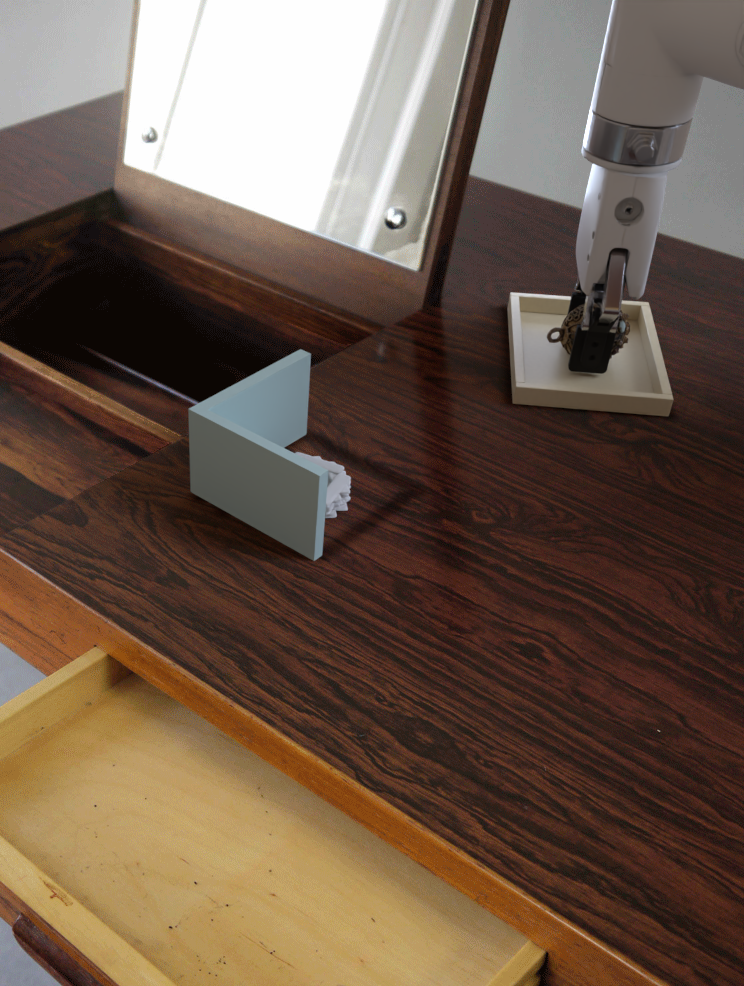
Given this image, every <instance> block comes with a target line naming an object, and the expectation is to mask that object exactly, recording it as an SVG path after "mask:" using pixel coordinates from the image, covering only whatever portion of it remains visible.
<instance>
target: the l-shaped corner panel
mask: <svg viewBox="0 0 744 986" xmlns="http://www.w3.org/2000/svg"><path fill="white" fill-rule="evenodd" d="M311 359H312V353H311V352H309V351H305V350H304V349H301V348H299V349H298V350H296V351H294V352H291V354H289V355H286V356H284V357H283V358H281V359H278V360H277V361H275V362H273V363H272V364H270V365H268V366H266V367H264V368H262V369H260V370H259V371H256V372H255V373H253V374H251V375H249V376H247V377H245V378H243V379H242V380H240V381H238V382H235V383H234V384H232V385H231V386H228V387H226V388H225V389H223V390H221V391H219V392H217V393H216V394H214V395H212V396H209V397H208V398H206V399H203V400H202V401H200V402H199V403H197V404H194V405H193V406H190V407H189V408H188V409H187V411H188V413H187V414H188V441H189V443H188V448H189V450H188V451H189V452H188V453H189V483H190V486H189V488H190V493H191V494H193V495H195V496H197V497H199V498H201V499H202V500H204V501H206V502H208V503H209V504H212V505H213V506H215V507H217V508H218V509H220V510H222V511H224V512H226V513H227V514H229V515H231V516H232V517H234V518H236V519H237V520H240V521H242V522H243V523H245V524H247V525H249V526H251V527H252V528H254V529H256V530H258V531H260V532H261V533H263V534H264V535H267V536H268V537H270V538H271V539H273V540H275V541H277V542H279V543H281V544H282V545H284V546H287V547H288V548H289V549H291V550H293V551H294V552H297V553H298V554H300V555H302V556H304V557H306V558H308V559H310V560H311V561H313V562H315V561H317V560H318V559H319V558H321V557H322V556H323V551H324V537H325V536H324V535H325V524H326V519H335V518H337V516H338V514H337V512H345V511H348V510H349V507H348V502H350V501H351V498H352V497H351V496H350V494H351V490H350V489H351V488H352V485H351V484H352V477H351V476H350V475H347V471H346V470H345V466H344V465H341V464H339V463H336V462H335V461H328V460H326V459H322V457H321V456H320V455H313V456H312V455H309V454H306V453H303V452H300V451H295V452H293V451H290V449H287V448H286V447H288V446H289V445H290V446H291V444H293V443H294V442H296V441H298V440H299V439H301V438H303V437H305V436H306V435H307V433H308V417H309V415H308V414H309V398H310V380H311V364H312V363H311V362H312V361H311Z"/></svg>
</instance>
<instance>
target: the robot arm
mask: <svg viewBox="0 0 744 986" xmlns="http://www.w3.org/2000/svg"><path fill="white" fill-rule="evenodd" d="M704 78H706V79H710V80H712V81H715V82H718V83H721V84H724V85H727V86H730V87H732V88H736V89H740V90H744V0H612V2H611V6H610V10H609V16H608V21H607V27H606V30H605V36H604V41H603V46H602V50H601V55H600V62H599V65H598V70H597V74H596V80H595V84H594V89H593V93H592V97H591V103H590V108H589V113H588V117H587V122H586V127H585V131H584V136H583V141H582V147H581V155H582V157H583V158H584V159H586V160H587V161H588V162H589V163H591V169H590V172H589V178H588V182H587V186H586V190H585V195H584V198H583V199H584V200H583V204H582V208H581V214H580V219H579V225H578V229H577V235H576V244H575V260H576V267H577V274H576V280H575V283H574V291H572V292H571V296H570V297H571V300H570V305H569V309H568V314H569V313H570V312H571V311H572V310H574V309H575V308H577V307H578V306H580V305H583V304H585V306H584V311H583V317H582V323H581V325H577V328H576V332H575V337H574V341H573V345H572V350H571V354H570V359H569V363H568V368H569V370H570V371H573V372H586V373H598V374H603V373H605V372H606V371H607V368H608V364H609V360H610V356H611V352H612V348H613V344H614V340H615V336H616V332H617V325H618V320H619V315H620V310H621V304H622V300H623V299H624V294H625V287H626V289H627V293H628V298H632V299H633V301H637V300H638V301H639V299H640V298H642V297H643V296H644V294H645V290H646V286H647V281H648V277H649V272H650V269H651V268H650V267H651V263H652V260H653V259H652V258H653V254H654V250H655V246H656V241H657V240H656V239H657V235H658V231H659V227H660V222H661V217H662V212H663V207H664V202H665V195H666V189H667V179H668V172H669V171H672V170H674V169H675V170H676V169H677V168H679V166H680V165H681V163H682V159H683V155H684V152H685V149H686V146H687V141H688V137H689V133H690V129H691V125H692V123H693V118H694V115H695V111H696V107H697V103H698V101H699V95H700V93H701V89H702V85H703V81H704ZM594 303H601V305H600V307H596V308H595V309H594V311H593V313H592V310H593V304H594ZM568 314H567V315H568Z"/></svg>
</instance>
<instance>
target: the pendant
mask: <svg viewBox="0 0 744 986" xmlns="http://www.w3.org/2000/svg"><path fill="white" fill-rule="evenodd" d="M600 305H601V303H594V304H593V310H592V313H593V311H594V309H595V308H596V307H600ZM584 306H585V304H583V305H580V306H578V307H577V308H575V309H574V310H572V311H571V312H570V313H569V314H568V315H567V316H566V318H565V319H564V321H563V323H562V326H561V328H560V327H555V328H553V329H551V330H550V331H549V332H548V334H547V339H548V341H549V342H550V343H557V342H559V341H560V342H561V344H562V347H563V348H565V350H566V351H567V353H568V354H569V355H570V354H571V350H572V345H573V341H574V337H575V332H576V328H577V325H581V323H582V317H583V311H584ZM628 318H629V315H628V314H625V313H624V314H623V311H622V310H620V315H619V320H618V325H617V332H616V336H615V340H614V344H613V348H612V352H611V356H610V359H611V358H612V355H615V354H617V353H619V348H620V349H621V348H623V344H624V343H628V338H627V337H626V336H625V335H628V334H629V332H630V324H629V323H628V322H626V320H627V319H628ZM555 332H559V336H558V338H556V339H552V338H551V335H552V333H555Z"/></svg>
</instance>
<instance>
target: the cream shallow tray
mask: <svg viewBox="0 0 744 986" xmlns="http://www.w3.org/2000/svg"><path fill="white" fill-rule="evenodd" d="M570 300H571V296H569V295H554V294H553V295H552V294H541V293H527V292H514V291H513V292H512V291H511V292H510V293H509V298H508V302H507V325H508V343H509V362H510V376H511V377H510V379H511V380H510V381H511V394H512V395H511V399H512V401H511V402H512V404H515V405H526V406H527V405H528V406H537V407H550V408H560V409H562V408H564V409H573V410H587V411H598V412H599V411H600V412H610V413H623V414H636V415H647V416H659V417H669V416H670V413H671V410H672V406H673V403H674V396H673V392H672V387H671V383H670V380H669V376H668V373H667V369H666V365H665V360H664V356H663V353H662V349H661V345H660V341H659V337H658V333H657V329H656V326H655V322H654V316H653V314H652V309H651V306H650V302H648V301H639V300H638V301H637V300H623V299H622V304H621V310H622V311H623V314H624V313H625V314H628V315H629V318H628V319H627V320H626V322H628V323H629V324H630V332H629V334H628V335H625V336H626V337H627V338H628V343H624V344H623V348H621V349H620V348H619V353H617V354H615V355H612V358H611V359H610V360H609V364H608V368H607V371H606V372H605V373H603V374H598V373H586V372H573V371H570V370H569V368H568V363H569V359H570V355H569V354H568V353H567V351H566V350H565V348H563V347H562V344H561V342H560V341H559V342H557V343H550V342H549V341H548V339H547V334H548V332H549V331H550V330H551V329H553V328H555V327H560V328H561V326H562V323H563V321H564V319H565V318H566V316H567V314H568V309H569V305H570ZM558 336H559V332H555V333H552V335H551V338H552V339H556V338H558Z"/></svg>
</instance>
